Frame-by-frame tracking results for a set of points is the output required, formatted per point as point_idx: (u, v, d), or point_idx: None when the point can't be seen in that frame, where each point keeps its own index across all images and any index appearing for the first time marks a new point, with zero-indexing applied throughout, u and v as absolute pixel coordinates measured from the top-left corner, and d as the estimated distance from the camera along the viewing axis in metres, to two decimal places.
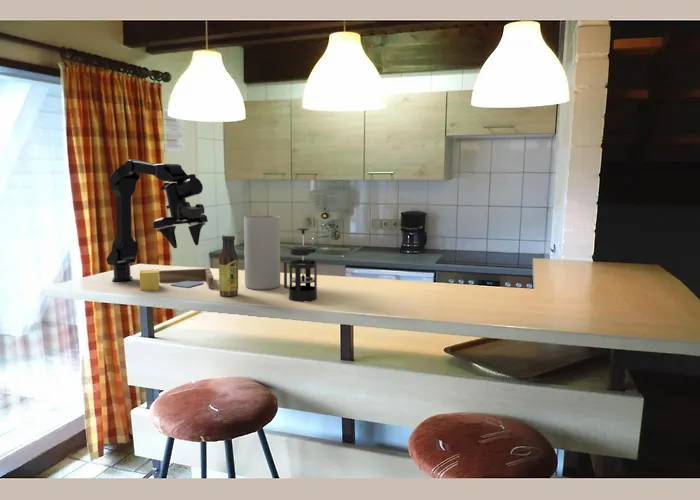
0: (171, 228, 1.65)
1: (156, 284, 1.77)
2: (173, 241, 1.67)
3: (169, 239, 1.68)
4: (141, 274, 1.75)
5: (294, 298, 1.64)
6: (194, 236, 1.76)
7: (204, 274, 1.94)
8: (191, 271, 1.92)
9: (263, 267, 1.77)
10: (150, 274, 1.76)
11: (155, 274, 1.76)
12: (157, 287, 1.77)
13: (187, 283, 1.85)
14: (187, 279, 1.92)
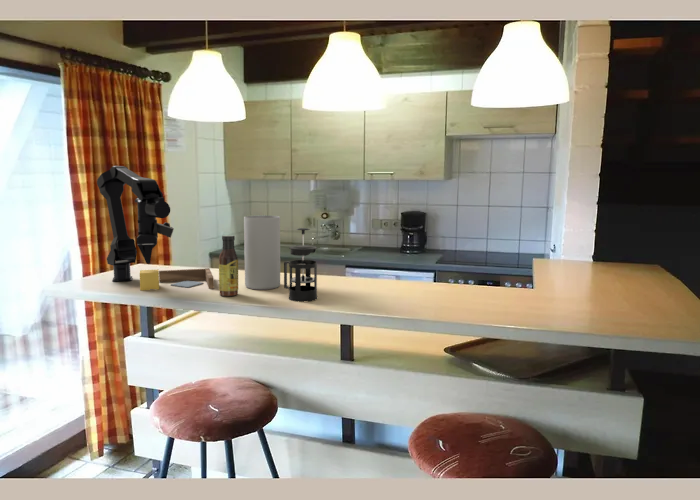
0: (155, 245, 1.72)
1: (156, 284, 1.77)
2: (149, 257, 1.73)
3: (144, 255, 1.72)
4: (141, 274, 1.75)
5: (294, 298, 1.64)
6: None
7: (204, 274, 1.94)
8: (191, 271, 1.92)
9: (263, 267, 1.77)
10: (150, 274, 1.76)
11: (155, 274, 1.76)
12: (157, 287, 1.77)
13: (187, 283, 1.85)
14: (187, 279, 1.92)
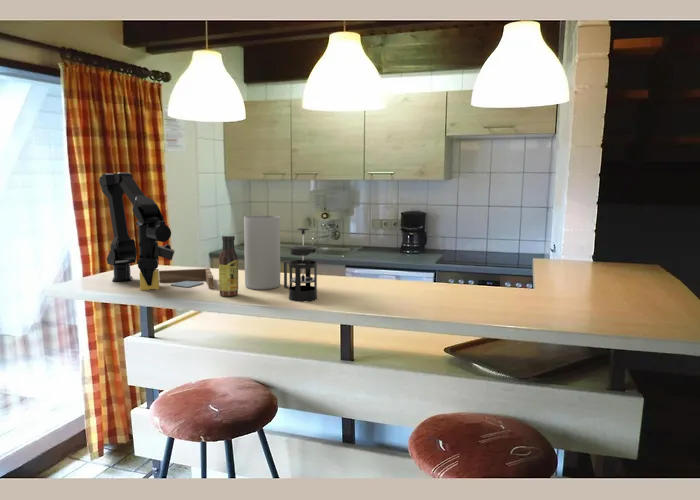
0: None
1: (156, 283, 1.77)
2: (151, 279, 1.75)
3: (145, 277, 1.74)
4: (141, 274, 1.75)
5: (294, 298, 1.64)
6: None
7: (204, 274, 1.94)
8: (191, 271, 1.92)
9: (263, 267, 1.77)
10: None
11: (155, 274, 1.76)
12: (157, 287, 1.77)
13: (187, 283, 1.85)
14: (187, 279, 1.92)
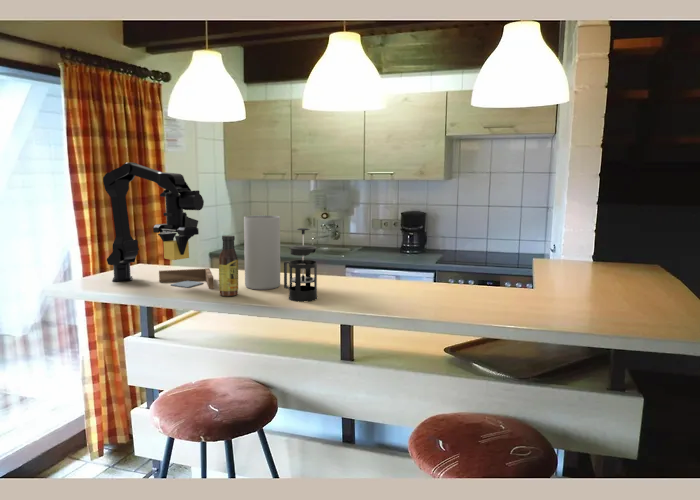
0: None
1: (187, 252, 1.82)
2: (184, 248, 1.80)
3: (181, 246, 1.78)
4: (175, 243, 1.77)
5: (294, 298, 1.64)
6: None
7: (204, 274, 1.94)
8: (191, 271, 1.92)
9: (263, 267, 1.77)
10: None
11: None
12: (187, 255, 1.82)
13: (187, 283, 1.85)
14: (187, 279, 1.92)
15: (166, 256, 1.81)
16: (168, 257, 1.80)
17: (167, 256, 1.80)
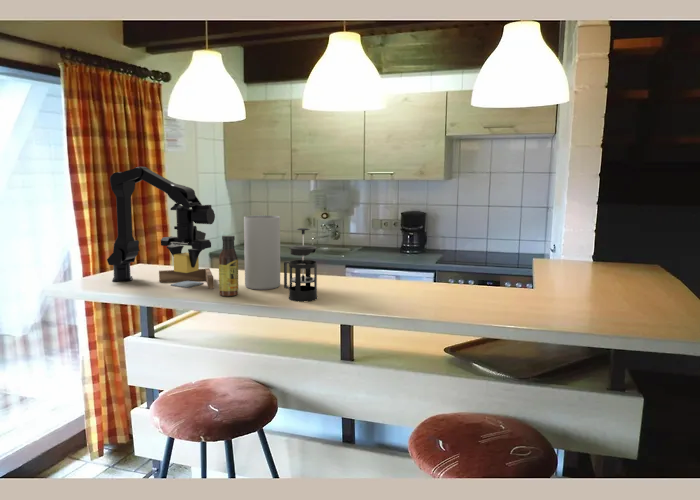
0: None
1: (197, 265, 1.85)
2: (195, 261, 1.83)
3: (193, 259, 1.81)
4: (187, 256, 1.80)
5: (294, 298, 1.64)
6: None
7: (204, 274, 1.94)
8: None
9: (263, 267, 1.77)
10: None
11: None
12: (197, 268, 1.86)
13: (187, 283, 1.85)
14: (187, 279, 1.92)
15: (176, 269, 1.83)
16: (179, 270, 1.82)
17: (178, 269, 1.82)
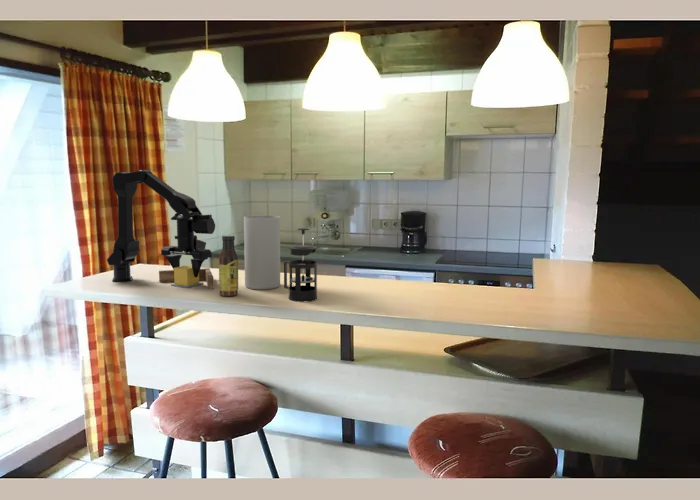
0: None
1: (197, 277, 1.86)
2: (198, 270, 1.83)
3: (196, 269, 1.81)
4: (188, 270, 1.81)
5: (294, 298, 1.64)
6: (177, 266, 1.86)
7: (204, 274, 1.94)
8: None
9: (263, 267, 1.77)
10: None
11: None
12: (198, 281, 1.86)
13: None
14: None
15: (177, 282, 1.83)
16: (179, 283, 1.83)
17: (178, 282, 1.83)
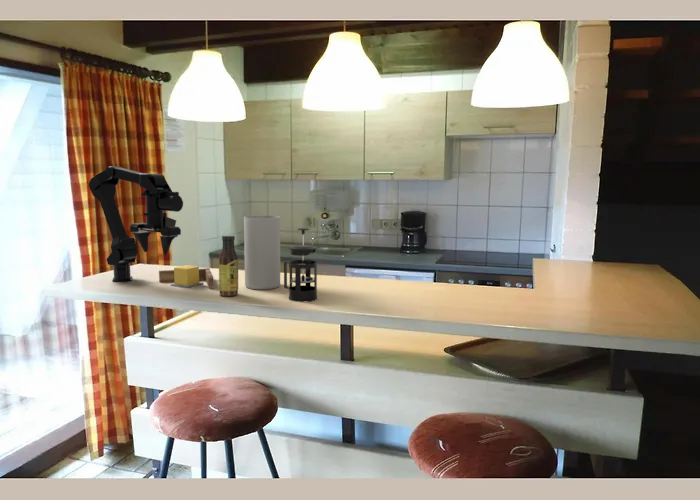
0: None
1: (197, 277, 1.86)
2: (168, 248, 1.82)
3: (165, 246, 1.80)
4: (188, 270, 1.81)
5: (294, 298, 1.64)
6: (145, 243, 1.85)
7: (204, 274, 1.94)
8: None
9: (263, 267, 1.77)
10: (193, 269, 1.84)
11: (197, 268, 1.85)
12: (198, 281, 1.86)
13: None
14: None
15: (177, 282, 1.83)
16: (179, 283, 1.83)
17: (178, 282, 1.83)
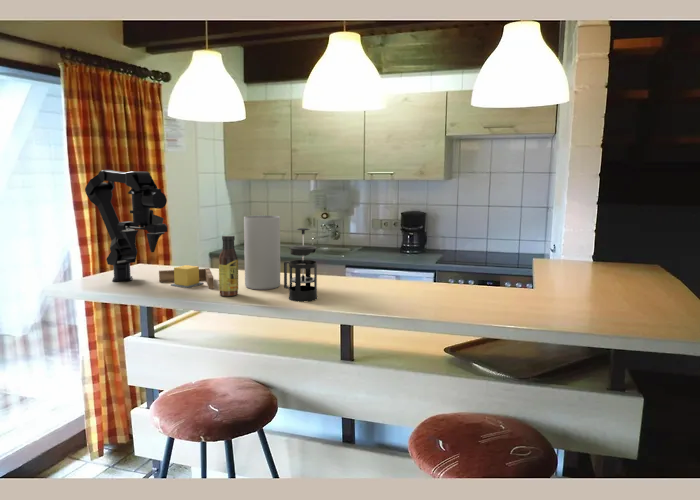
0: None
1: (197, 277, 1.86)
2: (155, 245, 1.81)
3: (152, 244, 1.80)
4: (188, 270, 1.81)
5: (294, 298, 1.64)
6: (133, 241, 1.85)
7: (204, 274, 1.94)
8: None
9: (263, 267, 1.77)
10: (193, 269, 1.84)
11: (197, 268, 1.85)
12: (198, 281, 1.86)
13: None
14: None
15: (177, 282, 1.83)
16: (179, 283, 1.83)
17: (178, 282, 1.83)
